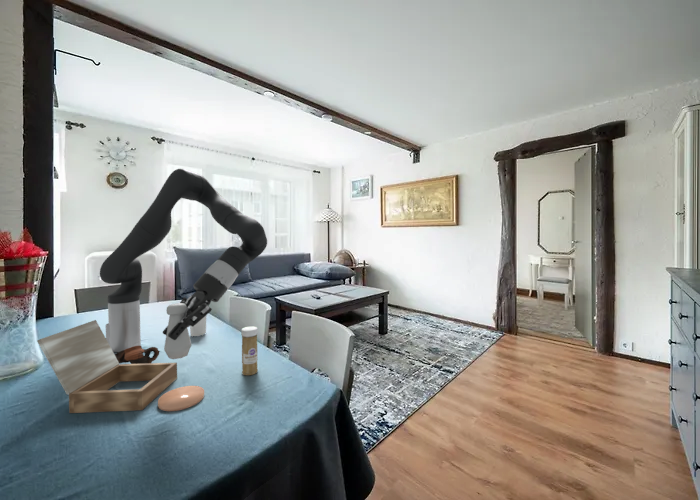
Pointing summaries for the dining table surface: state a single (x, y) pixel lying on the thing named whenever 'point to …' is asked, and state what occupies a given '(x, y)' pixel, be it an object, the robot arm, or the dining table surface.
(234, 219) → the robot arm
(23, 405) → the dining table surface
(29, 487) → the dining table surface
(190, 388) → the terracotta saucer
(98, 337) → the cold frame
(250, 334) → the sprinkles bottle
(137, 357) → the pottery mug
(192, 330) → the drinking glass
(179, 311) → the salt shaker
